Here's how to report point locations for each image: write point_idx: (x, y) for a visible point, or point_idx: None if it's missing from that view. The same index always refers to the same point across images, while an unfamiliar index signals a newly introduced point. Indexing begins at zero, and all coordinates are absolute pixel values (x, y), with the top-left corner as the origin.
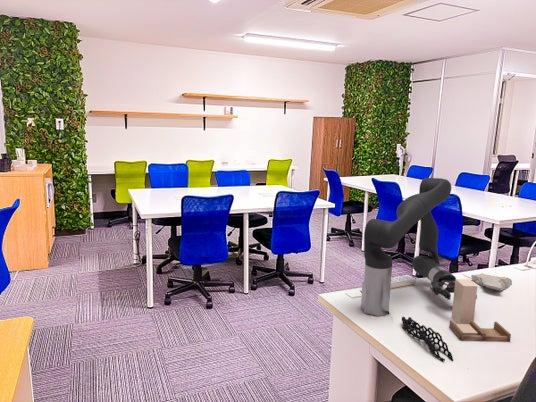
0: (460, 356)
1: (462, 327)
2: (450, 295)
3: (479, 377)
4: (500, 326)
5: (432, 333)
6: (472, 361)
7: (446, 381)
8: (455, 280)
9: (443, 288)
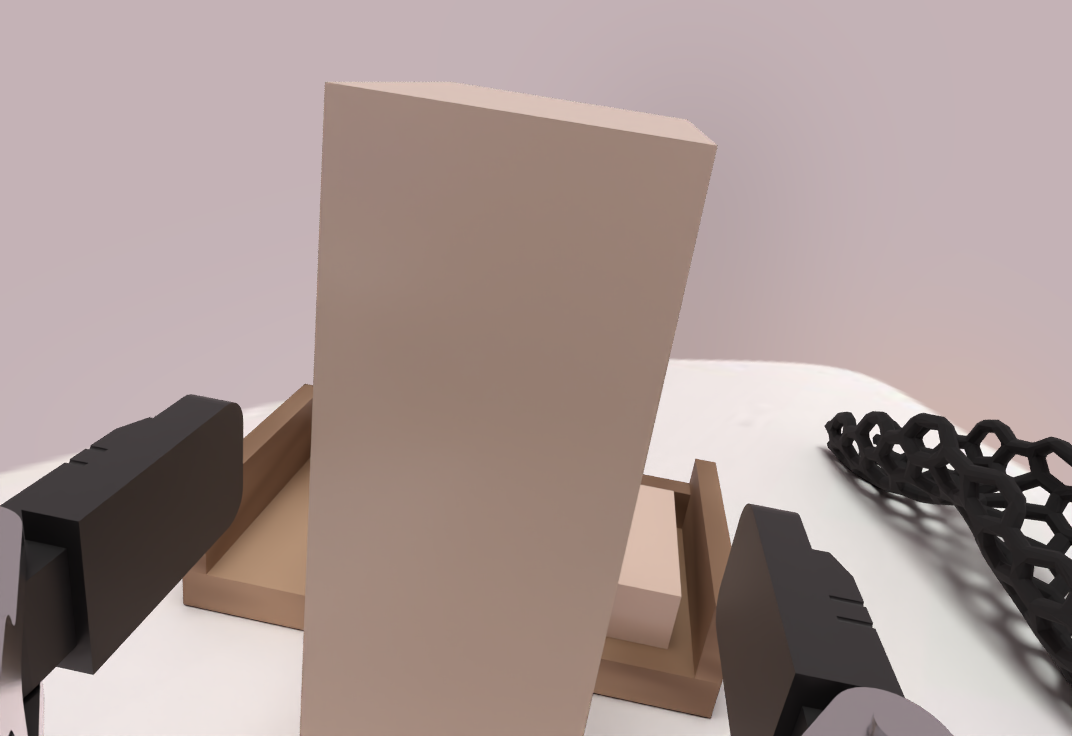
0: (747, 475)
1: (636, 538)
2: (744, 520)
3: (715, 390)
4: (256, 444)
5: (972, 486)
6: (693, 442)
7: (874, 406)
8: (706, 189)
9: (890, 711)
